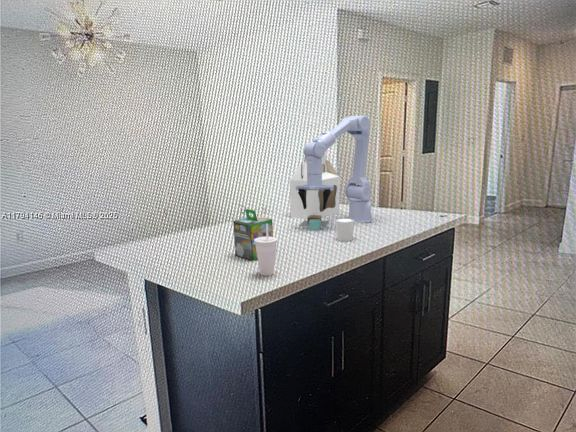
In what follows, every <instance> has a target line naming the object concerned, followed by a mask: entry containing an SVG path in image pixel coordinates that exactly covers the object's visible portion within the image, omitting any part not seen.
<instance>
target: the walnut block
mask: <svg viewBox="0 0 576 432" xmlns="http://www.w3.org/2000/svg"><path fill="white" fill-rule="evenodd" d="M311 219H319V220H321V221H322V218H321V215H309V216H308V217H307V219H306V220H307V222H308V225H309V221H310V220H311Z"/></svg>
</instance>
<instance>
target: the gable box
mask: <svg viewBox="0 0 576 432" xmlns="http://www.w3.org/2000/svg"><path fill="white" fill-rule="evenodd" d="M325 154H326V153H325ZM325 154H324V156H323V157H322V185H334V190H333V191H331V193H330V195H329V197H328V200H327V204H326V209H325V210H324V209H323V191H324V190H307V193H306V204H307V207H306V209H304V207H303V203H302V200H301V198H300V196H299V194H298V192H299V190H296V185H307V161H306V156H305V155H304V161H302V162H301V163H299V165H298V167H297V169H295V172H294V173H293V175H292V177H290V179H289V194H290V195H289V197H290V198H289V200H290V209H289V210H290V218H294V219H304V220H307V217H308V216H309V215H321V219H323V218H326V217H328V216H332V215H336V214H339V213H340V175H339V174H338V172H337V171H336V170H335V168H334V167H333V165H332V164H331V162H330V161H329V160H328V157H329V156H328V155H327V156H326V155H325ZM310 189H319V188H310Z"/></svg>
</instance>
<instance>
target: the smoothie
mask: <svg viewBox="0 0 576 432" xmlns="http://www.w3.org/2000/svg"><path fill="white" fill-rule="evenodd" d="M254 244H255V245H256V252H257V258H258V259H257V263H258V264H257V265H258V269H259V274H260V275H261V276H265V277H266V276H272V275H274V274H275V273H274V271H275V262H276V251H277V244H278V238H277V237H275V236H273V237H268V224H266V237H258V238H256V239H254Z"/></svg>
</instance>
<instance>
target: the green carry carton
mask: <svg viewBox="0 0 576 432" xmlns="http://www.w3.org/2000/svg"><path fill="white" fill-rule="evenodd" d="M244 211H245V215H246V217H243V218H240V219H239V218H238V219H236V220H233V221H232V223H233V224H232V225H233V236H234V237H233V240H234V252H235V253H234V255H235V256H238V257H241V258H243V259H246V260H249V261H253V262H254V261H255V260H258V258H257V252H256V245H255V244H254V239H256V238H258V237H266V224H268V237H274V229H273V225H274V224H273V219H272V218H269V217H261V216H257V213H256V211H255V210H254V209H248V208H245V210H244ZM250 214H252V216H251V215H250Z"/></svg>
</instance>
